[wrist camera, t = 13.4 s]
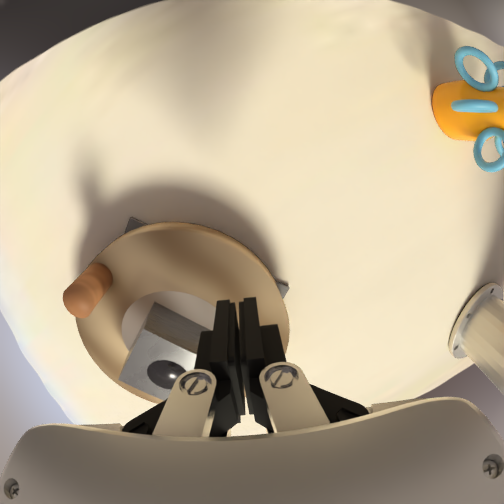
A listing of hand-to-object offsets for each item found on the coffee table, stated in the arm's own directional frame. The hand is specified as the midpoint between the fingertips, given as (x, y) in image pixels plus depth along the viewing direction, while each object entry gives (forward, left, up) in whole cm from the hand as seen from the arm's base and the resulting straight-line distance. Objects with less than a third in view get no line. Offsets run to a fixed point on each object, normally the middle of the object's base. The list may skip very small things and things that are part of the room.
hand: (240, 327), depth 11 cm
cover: (+1, +8, -7) cm, 11 cm away
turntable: (+1, +8, -10) cm, 13 cm away
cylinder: (-13, -22, -11) cm, 28 cm away
